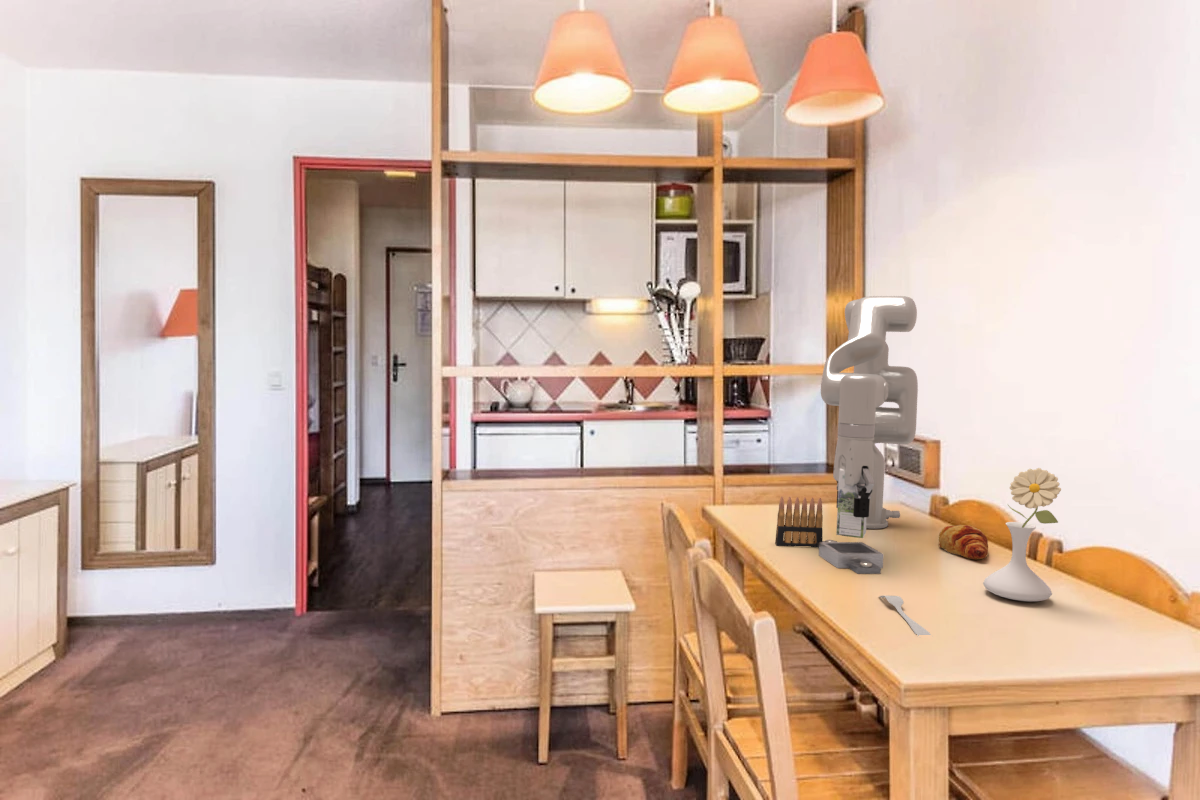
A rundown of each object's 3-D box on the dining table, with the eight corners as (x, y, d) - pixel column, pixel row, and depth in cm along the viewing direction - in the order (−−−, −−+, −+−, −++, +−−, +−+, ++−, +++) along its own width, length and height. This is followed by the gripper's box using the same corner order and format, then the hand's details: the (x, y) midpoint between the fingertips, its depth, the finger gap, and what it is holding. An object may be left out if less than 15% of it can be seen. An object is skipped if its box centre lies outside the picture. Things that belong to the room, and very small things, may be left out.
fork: (916, 654, 119) (918, 638, 118) (874, 598, 139) (875, 584, 139) (934, 655, 119) (936, 639, 118) (889, 598, 139) (890, 584, 139)
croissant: (933, 554, 185) (919, 525, 185) (971, 536, 184) (956, 507, 184) (969, 577, 164) (953, 544, 164) (1012, 557, 163) (996, 525, 163)
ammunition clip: (820, 547, 176) (823, 497, 175) (822, 549, 174) (825, 498, 173) (774, 545, 177) (777, 495, 176) (776, 547, 175) (778, 497, 174)
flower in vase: (968, 590, 144) (976, 462, 143) (1011, 585, 148) (1019, 460, 147) (1030, 613, 132) (1038, 472, 131) (1074, 606, 136) (1083, 470, 135)
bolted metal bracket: (846, 546, 176) (846, 533, 176) (892, 573, 154) (892, 559, 154) (805, 546, 175) (805, 533, 175) (845, 573, 153) (846, 559, 153)
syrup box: (866, 533, 164) (869, 467, 163) (863, 539, 158) (866, 471, 158) (839, 530, 166) (842, 465, 165) (835, 535, 161) (838, 468, 160)
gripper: (823, 427, 169) (819, 504, 170) (857, 436, 152) (853, 521, 153) (854, 428, 170) (851, 505, 171) (892, 436, 153) (888, 521, 154)
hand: (852, 512), depth 162 cm, fingers closed on syrup box, 7 cm apart
